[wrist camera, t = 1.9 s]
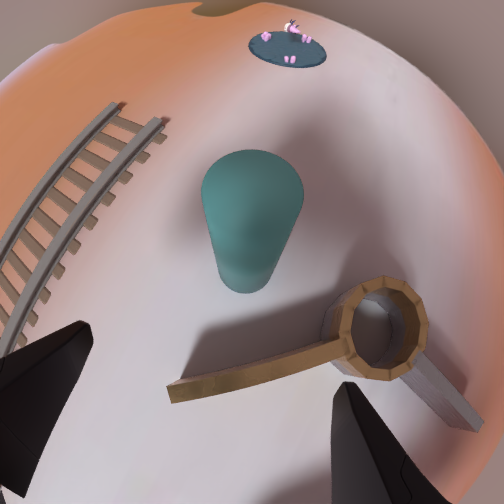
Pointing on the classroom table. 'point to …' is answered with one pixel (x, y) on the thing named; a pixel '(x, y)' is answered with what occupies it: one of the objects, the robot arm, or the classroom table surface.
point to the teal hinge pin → (250, 215)
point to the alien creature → (288, 48)
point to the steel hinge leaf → (417, 371)
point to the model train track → (77, 213)
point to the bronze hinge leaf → (323, 348)
